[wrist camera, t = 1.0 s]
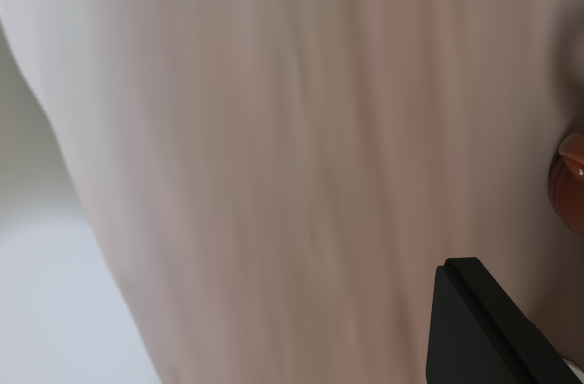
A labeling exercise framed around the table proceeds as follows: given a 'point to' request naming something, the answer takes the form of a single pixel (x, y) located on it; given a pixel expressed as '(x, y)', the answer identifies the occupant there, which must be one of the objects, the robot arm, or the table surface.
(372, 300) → the table surface
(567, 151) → the mug
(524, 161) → the table surface
